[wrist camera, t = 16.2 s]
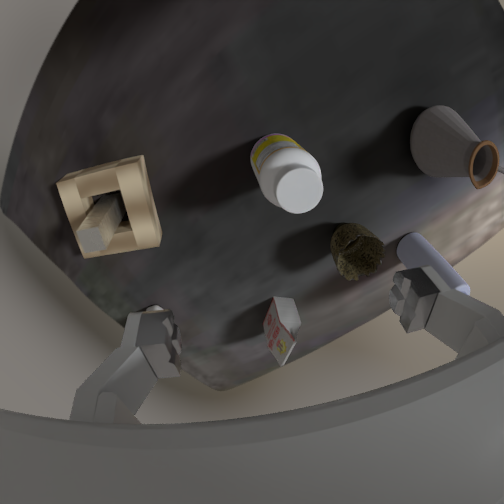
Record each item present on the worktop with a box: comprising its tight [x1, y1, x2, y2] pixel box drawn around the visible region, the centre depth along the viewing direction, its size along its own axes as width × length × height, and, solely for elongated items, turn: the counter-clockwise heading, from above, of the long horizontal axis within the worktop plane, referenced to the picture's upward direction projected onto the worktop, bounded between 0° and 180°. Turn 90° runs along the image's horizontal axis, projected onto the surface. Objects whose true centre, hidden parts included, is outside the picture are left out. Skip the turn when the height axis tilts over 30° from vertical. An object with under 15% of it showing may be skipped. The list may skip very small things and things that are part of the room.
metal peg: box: [76, 192, 126, 253], centre depth 35 cm, size 3×3×10 cm
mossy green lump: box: [330, 223, 385, 281], centre depth 43 cm, size 8×7×8 cm
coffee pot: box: [410, 105, 504, 189], centre depth 33 cm, size 21×12×15 cm, turn 83°
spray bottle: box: [397, 232, 470, 295], centre depth 41 cm, size 6×6×22 cm
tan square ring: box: [56, 155, 162, 259], centre depth 38 cm, size 12×12×4 cm
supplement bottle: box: [250, 134, 323, 213], centre depth 33 cm, size 7×7×13 cm
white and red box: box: [263, 297, 301, 367], centre depth 50 cm, size 4×7×10 cm, turn 165°
